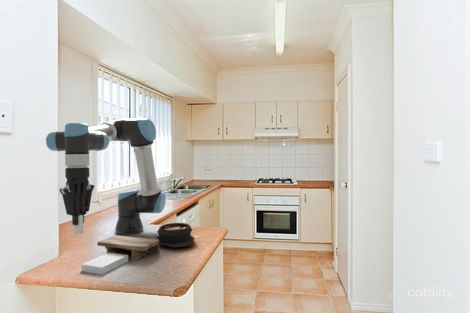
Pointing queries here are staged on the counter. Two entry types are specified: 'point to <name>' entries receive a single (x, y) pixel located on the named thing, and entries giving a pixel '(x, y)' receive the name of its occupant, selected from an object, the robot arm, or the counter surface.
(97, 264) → the plastic case
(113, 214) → the counter surface
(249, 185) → the counter surface
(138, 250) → the low shelf
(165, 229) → the casserole
